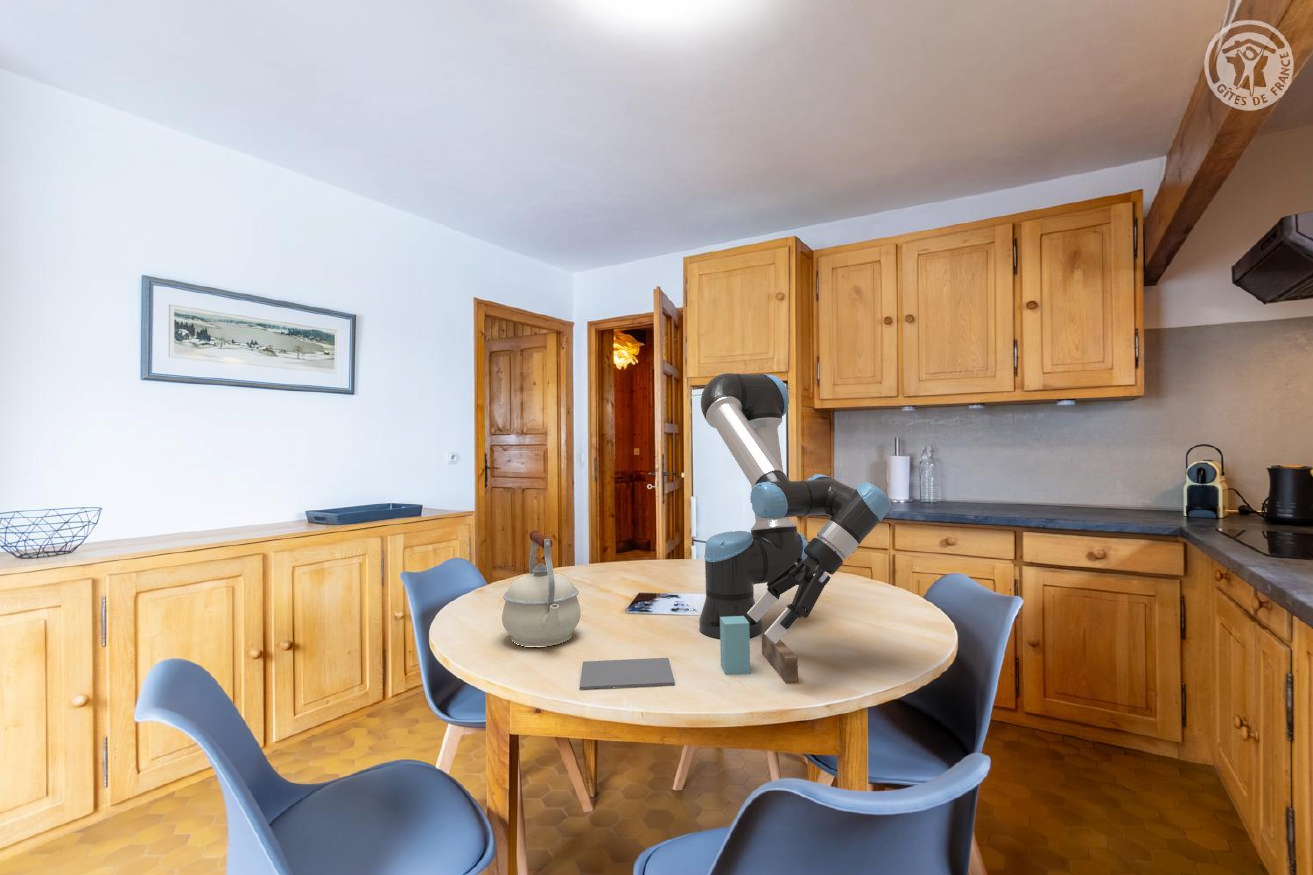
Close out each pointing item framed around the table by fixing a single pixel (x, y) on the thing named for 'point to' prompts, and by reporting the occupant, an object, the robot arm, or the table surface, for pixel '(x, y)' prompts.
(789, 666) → the rail
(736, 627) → the block
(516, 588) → the kettle
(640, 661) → the mat
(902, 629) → the table surface
